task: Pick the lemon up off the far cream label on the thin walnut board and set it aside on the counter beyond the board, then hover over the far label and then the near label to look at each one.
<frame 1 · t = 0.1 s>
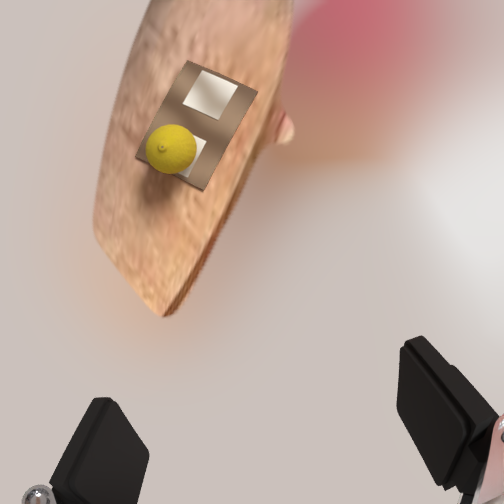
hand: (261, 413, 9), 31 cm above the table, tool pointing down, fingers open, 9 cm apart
lemon: (179, 150, 36), resting on label board
label board: (194, 122, 35), on the table
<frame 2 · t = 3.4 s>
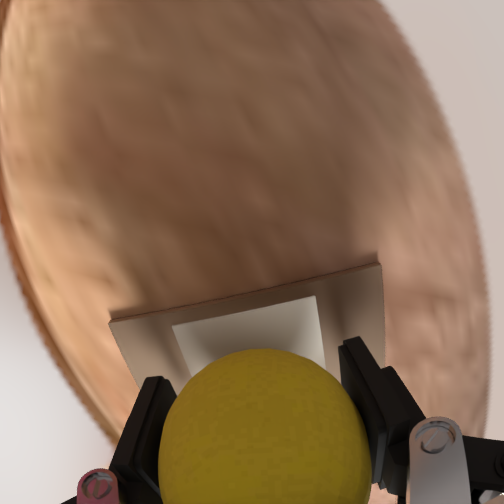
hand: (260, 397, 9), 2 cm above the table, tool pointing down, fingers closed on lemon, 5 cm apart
lemon: (257, 368, 11), resting on label board, touching gripper
label board: (276, 429, 12), on the table
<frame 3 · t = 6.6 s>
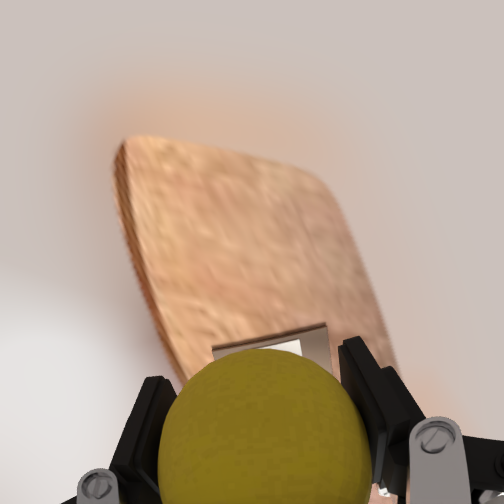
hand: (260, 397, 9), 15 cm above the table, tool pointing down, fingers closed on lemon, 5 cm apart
lemon: (257, 368, 11), point 13 cm above the table, touching gripper
label board: (282, 396, 27), on the table
when the fingers open (3 cm above the table, at t = 9.6 s): lemon drops 1 cm, on the table.
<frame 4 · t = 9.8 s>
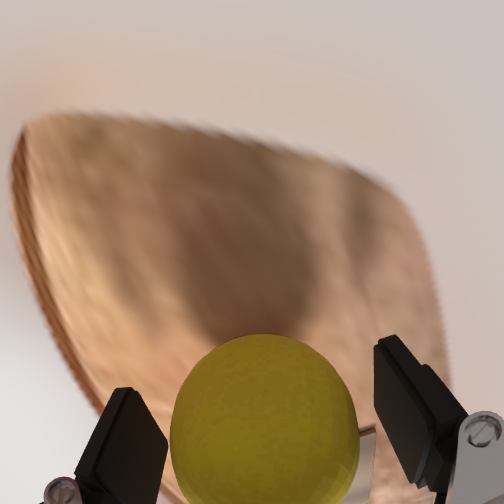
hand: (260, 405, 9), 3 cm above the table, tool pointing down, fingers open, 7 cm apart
lemon: (258, 354, 12), on the table
label board: (300, 501, 16), on the table
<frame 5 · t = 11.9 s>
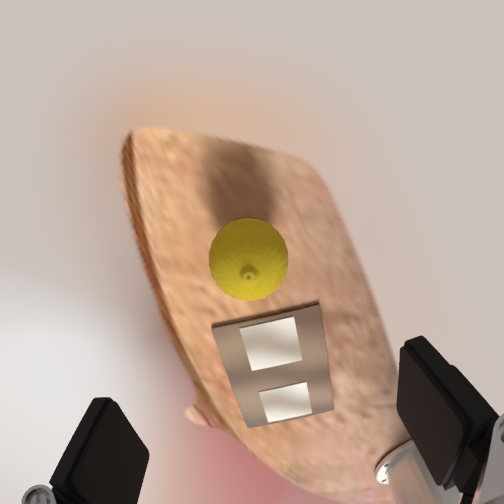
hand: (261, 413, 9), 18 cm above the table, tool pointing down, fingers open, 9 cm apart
lemon: (247, 243, 26), on the table
label board: (279, 374, 29), on the table
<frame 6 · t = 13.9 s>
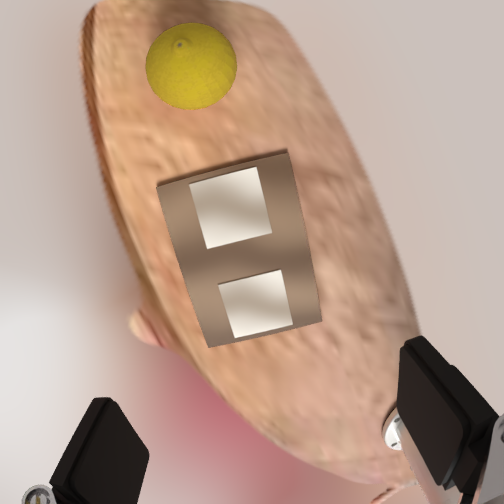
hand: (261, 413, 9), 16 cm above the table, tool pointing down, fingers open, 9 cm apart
lemon: (200, 84, 20), on the table
label board: (244, 258, 24), on the table
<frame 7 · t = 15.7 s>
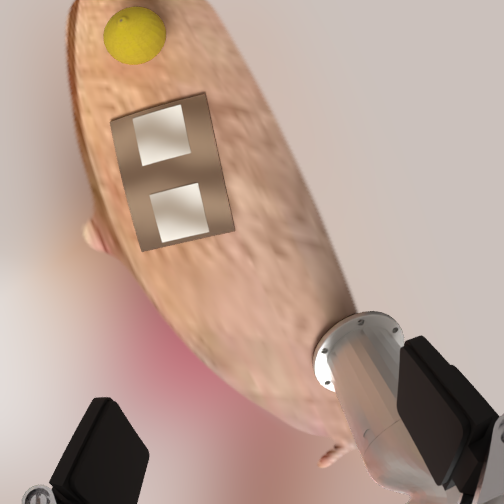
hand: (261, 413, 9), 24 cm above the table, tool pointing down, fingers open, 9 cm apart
lemon: (146, 49, 25), on the table
label board: (170, 173, 29), on the table
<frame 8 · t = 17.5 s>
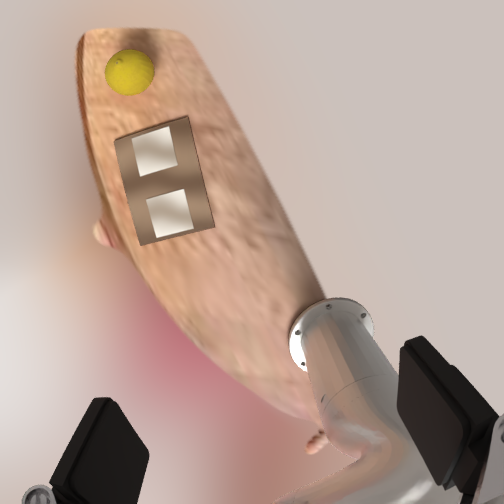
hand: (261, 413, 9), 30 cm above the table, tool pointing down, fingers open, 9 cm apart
lemon: (141, 81, 33), on the table
label board: (162, 182, 36), on the table
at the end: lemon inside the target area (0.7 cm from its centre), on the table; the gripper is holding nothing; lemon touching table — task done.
